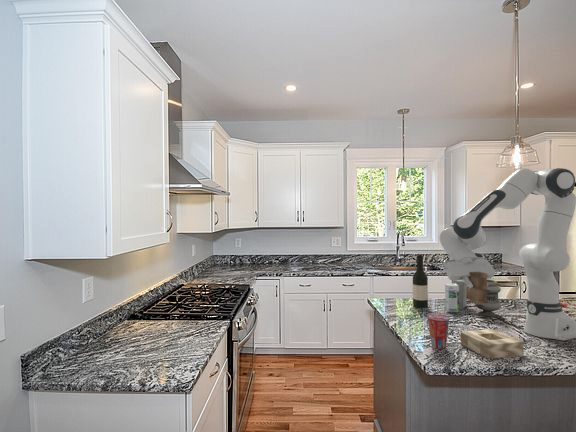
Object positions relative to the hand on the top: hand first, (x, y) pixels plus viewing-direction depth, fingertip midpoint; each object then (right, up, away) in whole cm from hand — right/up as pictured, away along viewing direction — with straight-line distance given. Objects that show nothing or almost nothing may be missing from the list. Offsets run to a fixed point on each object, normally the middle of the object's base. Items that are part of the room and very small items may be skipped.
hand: (479, 286), depth 143 cm
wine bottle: (-1, -23, +61) cm, 65 cm away
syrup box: (+12, -23, +50) cm, 57 cm away
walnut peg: (0, -6, +1) cm, 6 cm away
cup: (-18, -24, -2) cm, 30 cm away
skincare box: (+20, -23, +58) cm, 66 cm away
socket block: (+1, -23, -6) cm, 24 cm away
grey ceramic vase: (+26, -23, +41) cm, 54 cm away
